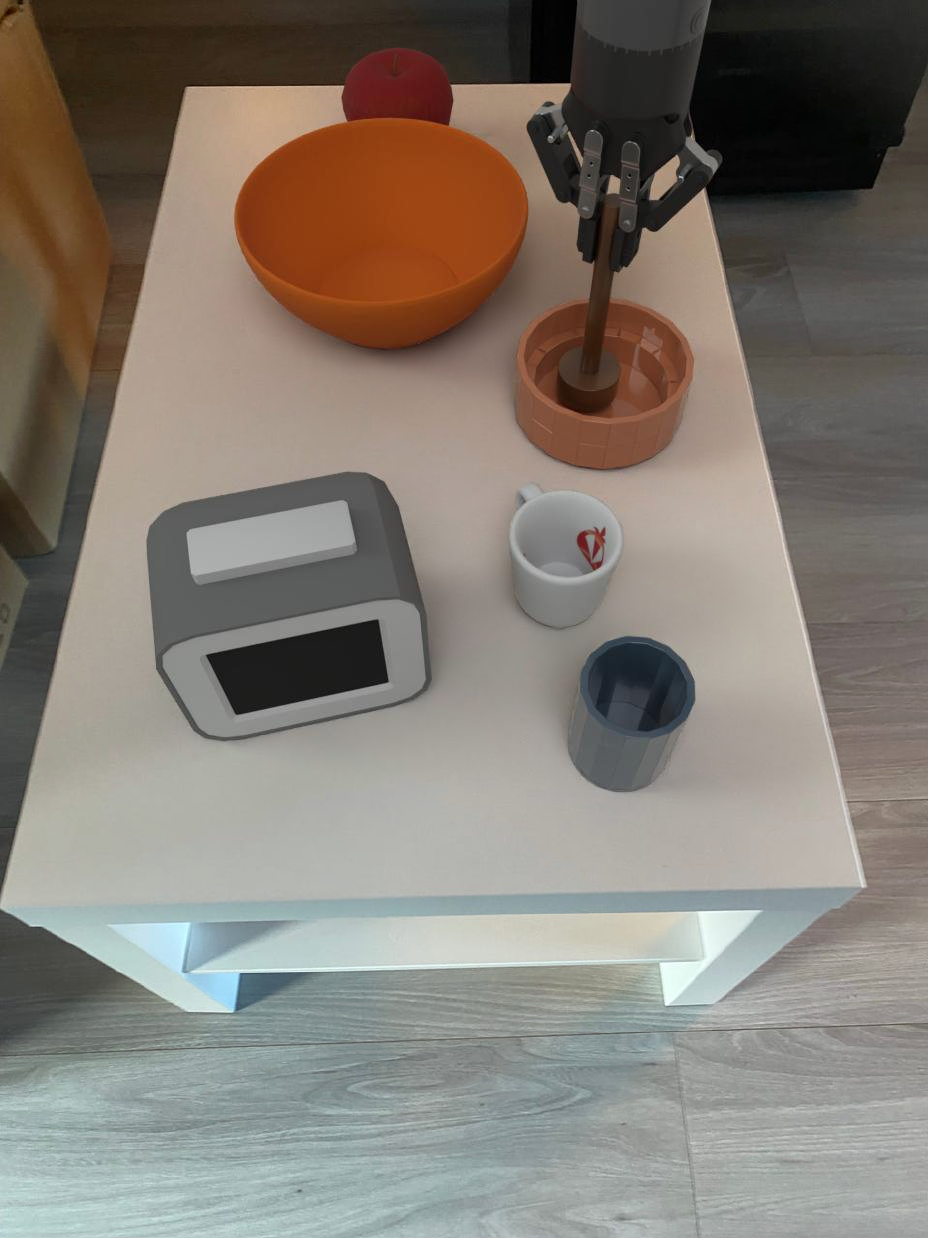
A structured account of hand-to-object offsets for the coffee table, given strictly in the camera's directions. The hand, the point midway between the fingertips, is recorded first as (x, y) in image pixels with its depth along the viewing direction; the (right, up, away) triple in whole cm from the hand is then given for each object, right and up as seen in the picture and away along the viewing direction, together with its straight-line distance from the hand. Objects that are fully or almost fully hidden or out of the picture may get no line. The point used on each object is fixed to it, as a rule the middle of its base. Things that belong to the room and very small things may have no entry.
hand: (605, 259), depth 70 cm
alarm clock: (-22, -29, 0) cm, 36 cm away
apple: (-17, +21, +30) cm, 41 cm away
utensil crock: (0, -35, -4) cm, 35 cm away
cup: (-4, -24, +4) cm, 24 cm away
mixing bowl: (+1, -8, +12) cm, 15 cm away
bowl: (-17, +4, +20) cm, 27 cm away
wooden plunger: (0, -7, +11) cm, 13 cm away
